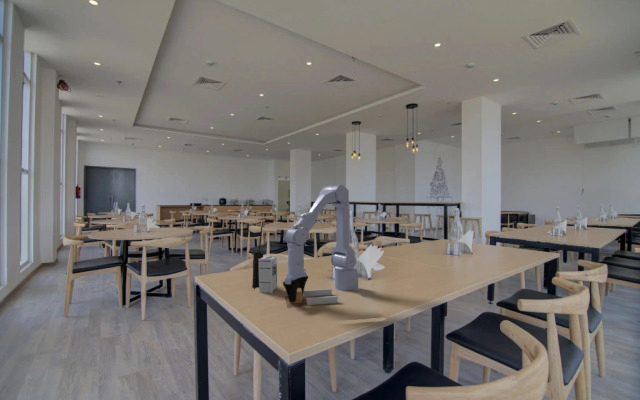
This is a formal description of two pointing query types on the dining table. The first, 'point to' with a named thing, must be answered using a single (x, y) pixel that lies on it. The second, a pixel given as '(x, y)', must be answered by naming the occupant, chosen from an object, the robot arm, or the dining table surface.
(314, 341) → the dining table surface
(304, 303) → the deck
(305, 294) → the trough walls
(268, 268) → the syrup box
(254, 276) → the butter churn
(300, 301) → the block
